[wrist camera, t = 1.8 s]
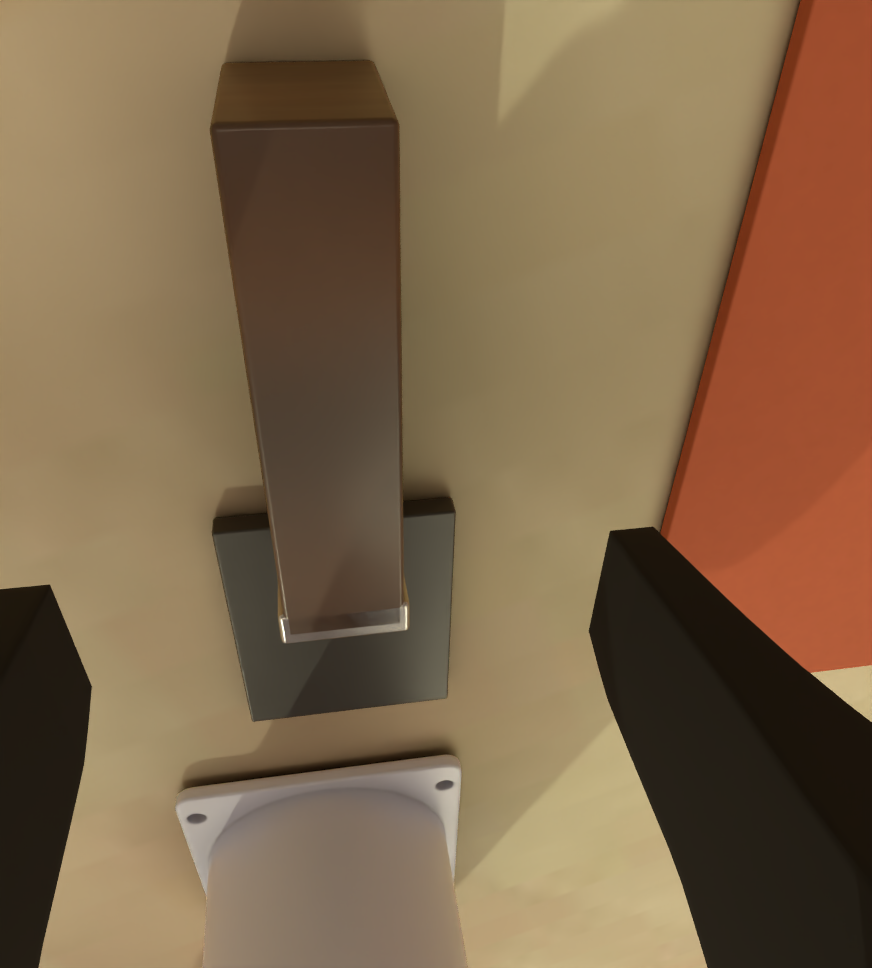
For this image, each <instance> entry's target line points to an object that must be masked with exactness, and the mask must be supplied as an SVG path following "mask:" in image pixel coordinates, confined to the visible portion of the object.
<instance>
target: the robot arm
mask: <svg viewBox="0 0 872 968" xmlns="http://www.w3.org/2000/svg"><path fill="white" fill-rule="evenodd" d="M589 633H590V637H591V641H592V644H593V648H594V652H595V656H596V660H597V664H598V667H599V671H600V674H601V678H602V681H603V685H604V688H605V692H606V695H607V699H608V701H609V704H610V706H611V709H612V711H613V714H614V716H615V719H616V721H617V724H618V726H619V729H620V731H621V734H622V736H623V739H624V741H625V743H626V746H627V748H628V751H629V753H630V756H631V758H632V760H633V763H634V765H635V768H636V770H637V773H638V775H639V777H640V780H641V782H642V785H643V787H644V789H645V792H646V794H647V797H648V799H649V801H650V804H651V806H652V809H653V811H654V813H655V816H656V818H657V821H658V823H659V826H660V828H661V830H662V833H663V835H664V838H665V840H666V842H667V845H668V847H669V850H670V852H671V855H672V858H673V861H674V863H675V866H676V869H677V871H678V874H679V877H680V880H681V882H682V885H683V889H684V892H685V895H686V898H687V902H688V905H689V908H690V911H691V915H692V918H693V921H694V924H695V928H696V931H697V934H698V937H699V941H700V944H701V947H702V950H703V954H704V957H705V960H706V964H707V967H708V968H872V722H870V721H869V720H868V719H866V718H865V717H864V716H863V715H861V714H860V713H859V712H857V711H856V710H855V709H854V708H852V707H851V706H850V705H848V704H847V703H846V702H845V701H843V700H842V699H841V698H840V697H839V696H837V695H836V694H835V693H834V692H833V691H831V690H830V689H829V688H828V687H826V686H825V685H824V684H823V683H822V682H820V681H819V680H818V679H817V678H816V677H814V676H813V675H812V674H811V673H809V672H808V671H807V670H806V669H805V668H803V667H802V666H801V665H800V664H799V663H798V662H796V661H795V660H794V659H793V658H792V657H791V656H790V655H788V654H787V653H786V652H785V651H784V650H783V649H782V648H781V647H779V646H778V645H777V644H776V643H775V642H774V641H773V640H772V639H771V638H770V637H768V636H767V635H766V634H765V633H764V632H763V631H762V630H761V629H760V628H759V627H757V626H756V625H755V624H754V623H753V622H752V621H751V620H750V619H749V618H747V617H746V616H745V615H744V614H743V613H742V612H741V611H740V610H739V609H738V608H737V607H736V606H735V605H734V604H733V603H732V602H730V601H729V600H728V599H727V598H726V597H725V596H724V595H723V594H722V593H721V592H720V591H719V590H718V589H717V588H716V587H715V586H714V585H713V584H712V583H711V582H710V581H709V580H708V579H707V578H706V577H704V576H703V575H702V574H701V573H700V572H699V571H698V570H697V569H696V568H695V567H694V566H693V565H692V564H691V563H690V562H689V561H688V560H687V559H686V558H685V557H684V556H683V555H682V554H681V553H680V552H679V551H678V550H677V549H676V548H675V547H674V546H673V545H672V544H671V543H669V542H668V541H667V540H666V539H665V538H664V537H663V536H662V535H661V534H660V533H659V532H658V531H657V530H656V529H655V528H654V527H646V528H635V529H625V530H615V531H610V533H609V538H608V543H607V547H606V552H605V557H604V562H603V566H602V571H601V576H600V580H599V585H598V590H597V595H596V599H595V604H594V609H593V614H592V618H591V623H590V628H589ZM91 689H92V686H91V683H90V681H89V679H88V676H87V674H86V671H85V669H84V666H83V664H82V662H81V659H80V657H79V654H78V652H77V649H76V647H75V645H74V642H73V640H72V637H71V635H70V632H69V630H68V628H67V625H66V623H65V620H64V618H63V615H62V613H61V610H60V608H59V606H58V603H57V601H56V598H55V596H54V593H53V591H52V589H51V586H50V585H41V586H31V587H20V588H10V589H0V968H38V967H39V962H40V957H41V951H42V946H43V941H44V937H45V933H46V928H47V924H48V920H49V915H50V911H51V907H52V902H53V898H54V894H55V890H56V885H57V881H58V877H59V872H60V868H61V864H62V859H63V855H64V851H65V846H66V842H67V838H68V834H69V829H70V825H71V820H72V816H73V812H74V807H75V803H76V798H77V794H78V789H79V785H80V780H81V776H82V771H83V766H84V760H85V751H86V742H87V733H88V723H89V712H90V700H91ZM461 777H462V770H461V765H460V761H459V759H458V758H457V757H455V756H453V755H437V756H429V757H421V758H414V759H406V760H398V761H390V762H383V763H375V764H367V765H360V766H352V767H344V768H337V769H329V770H321V771H313V772H306V773H298V774H290V775H283V776H275V777H267V778H260V779H252V780H244V781H236V782H229V783H221V784H213V785H206V786H198V787H191V788H187V789H184V790H183V791H181V792H179V794H178V795H177V796H176V805H175V811H176V813H177V816H178V819H179V822H180V825H181V827H182V830H183V833H184V836H185V839H186V841H187V844H188V847H189V850H190V853H191V855H192V858H193V861H194V864H195V866H196V869H197V872H198V875H199V878H200V880H201V883H202V886H203V889H204V892H205V894H206V897H207V900H206V918H205V935H204V952H203V968H468V965H467V959H466V953H465V947H464V941H463V935H462V929H461V924H460V918H459V912H458V906H457V900H456V894H455V888H454V877H455V862H456V848H457V834H458V819H459V805H460V791H461Z"/></svg>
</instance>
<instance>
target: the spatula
mask: <svg viewBox="0 0 872 968" xmlns="http://www.w3.org/2000/svg"><path fill="white" fill-rule="evenodd" d="M210 135H211V142H212V148H213V155H214V161H215V168H216V175H217V181H218V188H219V194H220V201H221V208H222V214H223V221H224V228H225V234H226V241H227V247H228V254H229V261H230V267H231V274H232V280H233V287H234V294H235V300H236V307H237V314H238V320H239V327H240V333H241V340H242V347H243V353H244V360H245V366H246V373H247V380H248V386H249V393H250V400H251V406H252V413H253V419H254V426H255V433H256V439H257V446H258V452H259V459H260V466H261V472H262V479H263V486H264V492H265V499H266V505H267V512H268V514H257V515H246V516H234V517H223V518H215V519H214V520H213V527H212V536H213V541H214V546H215V550H216V555H217V560H218V564H219V569H220V574H221V578H222V583H223V588H224V592H225V597H226V602H227V606H228V611H229V616H230V621H231V625H232V630H233V635H234V639H235V644H236V649H237V653H238V658H239V663H240V667H241V672H242V677H243V681H244V686H245V691H246V695H247V700H248V705H249V709H250V714H251V719H252V721H254V722H255V721H263V720H272V719H280V718H288V717H296V716H305V715H313V714H321V713H329V712H338V711H346V710H354V709H363V708H371V707H379V706H387V705H396V704H404V703H412V702H421V701H429V700H437V699H445V698H447V694H448V671H449V649H450V627H451V604H452V582H453V559H454V537H455V514H456V511H455V508H454V504H453V500H452V498H439V499H427V500H416V501H405V502H403V445H402V345H401V245H400V145H399V123H398V120H397V118H396V115H395V113H394V110H393V108H392V105H391V103H390V101H389V98H388V96H387V93H386V91H385V88H384V86H383V83H382V81H381V78H380V76H379V74H378V71H377V69H376V66H375V64H374V62H372V61H370V60H362V61H302V62H243V63H225V64H223V65H222V67H221V72H220V77H219V83H218V88H217V93H216V99H215V104H214V110H213V115H212V120H211V126H210Z"/></svg>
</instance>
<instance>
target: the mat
mask: <svg viewBox="0 0 872 968" xmlns="http://www.w3.org/2000/svg"><path fill="white" fill-rule="evenodd" d="M660 534H661V535H662V536H663V537H664V538H665V539H666V540H667V541H668V542H669V543H671V544H672V545H673V546H674V547H675V548H676V549H677V550H678V551H679V552H680V553H681V554H682V555H683V556H684V557H685V558H686V559H687V560H688V561H689V562H690V563H691V564H692V565H693V566H694V567H695V568H696V569H697V570H698V571H699V572H700V573H701V574H702V575H703V576H704V577H706V578H707V579H708V580H709V581H710V582H711V583H712V584H713V585H714V586H715V587H716V588H717V589H718V590H719V591H720V592H721V593H722V594H723V595H724V596H725V597H726V598H727V599H728V600H729V601H730V602H732V603H733V604H734V605H735V606H736V607H737V608H738V609H739V610H740V611H741V612H742V613H743V614H744V615H745V616H746V617H747V618H749V619H750V620H751V621H752V622H753V623H754V624H755V625H756V626H757V627H759V628H760V629H761V630H762V631H763V632H764V633H765V634H766V635H767V636H768V637H770V638H771V639H772V640H773V641H774V642H775V643H776V644H777V645H778V646H779V647H781V648H782V649H783V650H784V651H785V652H786V653H787V654H788V655H790V656H791V657H792V658H793V659H794V660H795V661H796V662H798V663H799V664H800V665H801V666H802V667H803V668H805V669H806V670H807V671H808V672H809V673H811V672H819V671H827V670H835V669H843V668H851V667H860V666H868V665H872V0H801V1H800V5H799V9H798V12H797V16H796V20H795V24H794V28H793V31H792V35H791V39H790V43H789V47H788V50H787V54H786V58H785V62H784V66H783V69H782V73H781V77H780V81H779V85H778V88H777V92H776V96H775V100H774V104H773V107H772V111H771V115H770V119H769V123H768V126H767V130H766V134H765V138H764V141H763V145H762V149H761V153H760V157H759V160H758V164H757V168H756V172H755V176H754V179H753V183H752V187H751V191H750V195H749V198H748V202H747V206H746V210H745V214H744V217H743V221H742V225H741V229H740V233H739V236H738V240H737V244H736V248H735V252H734V255H733V259H732V263H731V267H730V271H729V274H728V278H727V282H726V286H725V290H724V293H723V297H722V301H721V305H720V308H719V312H718V316H717V320H716V324H715V327H714V331H713V335H712V339H711V343H710V346H709V350H708V354H707V358H706V362H705V365H704V369H703V373H702V377H701V381H700V384H699V388H698V392H697V396H696V400H695V403H694V407H693V411H692V415H691V419H690V422H689V426H688V430H687V434H686V438H685V441H684V445H683V449H682V453H681V457H680V460H679V464H678V468H677V472H676V475H675V479H674V483H673V487H672V491H671V494H670V498H669V502H668V506H667V510H666V513H665V517H664V521H663V525H662V529H661V532H660Z"/></svg>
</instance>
